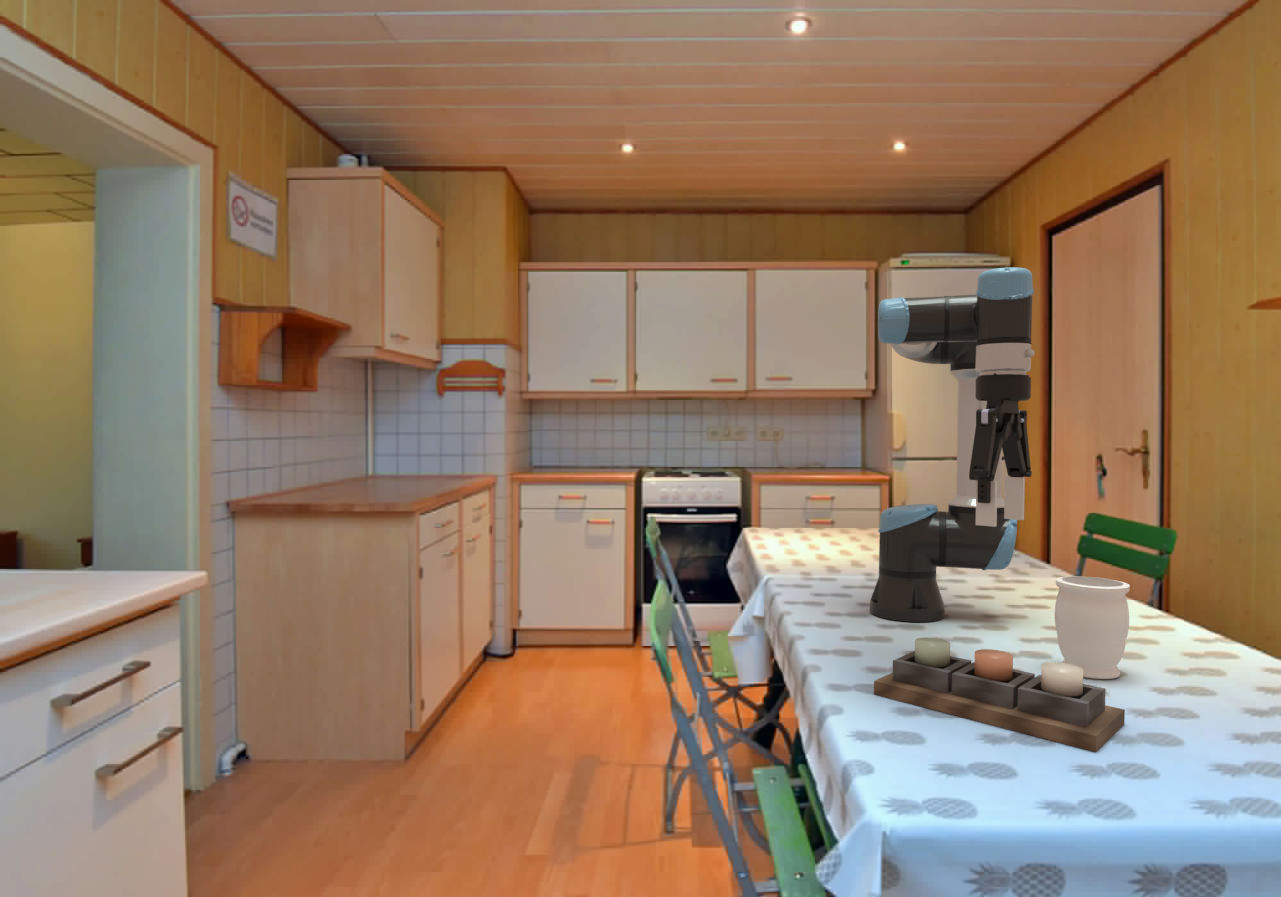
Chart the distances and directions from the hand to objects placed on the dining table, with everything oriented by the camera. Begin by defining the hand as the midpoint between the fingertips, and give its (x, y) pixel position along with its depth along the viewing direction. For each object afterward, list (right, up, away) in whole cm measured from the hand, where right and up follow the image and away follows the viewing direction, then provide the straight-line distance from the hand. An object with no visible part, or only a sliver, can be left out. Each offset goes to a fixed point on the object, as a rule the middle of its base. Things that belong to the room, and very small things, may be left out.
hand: (1000, 522), depth 120 cm
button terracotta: (-4, -21, -6) cm, 22 cm away
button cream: (+3, -21, -12) cm, 25 cm away
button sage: (-10, -21, +1) cm, 23 cm away
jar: (+20, -26, +11) cm, 34 cm away
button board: (-4, -26, -6) cm, 27 cm away
